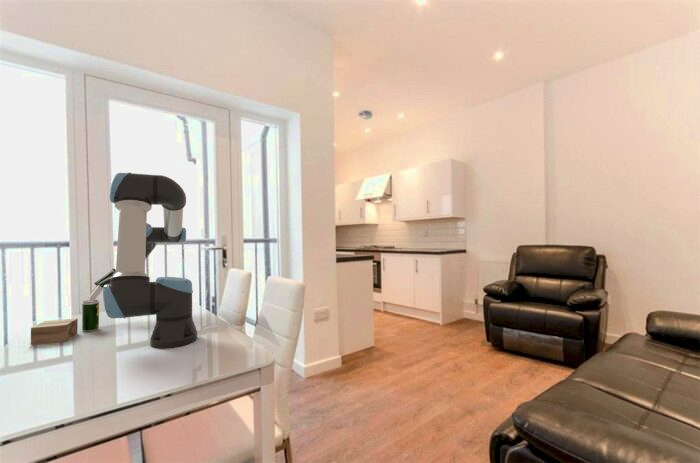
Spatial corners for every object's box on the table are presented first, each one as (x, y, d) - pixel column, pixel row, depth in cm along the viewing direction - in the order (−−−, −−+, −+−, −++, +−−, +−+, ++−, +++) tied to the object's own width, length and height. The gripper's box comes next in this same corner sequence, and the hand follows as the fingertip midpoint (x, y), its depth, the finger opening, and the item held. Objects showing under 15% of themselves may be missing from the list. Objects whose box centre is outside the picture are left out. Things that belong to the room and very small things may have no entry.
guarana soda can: (82, 333, 128) (82, 302, 128) (81, 330, 132) (81, 300, 132) (99, 330, 132) (99, 300, 132) (98, 327, 136) (98, 299, 136)
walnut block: (66, 341, 118) (66, 324, 118) (30, 344, 114) (30, 327, 114) (77, 333, 127) (77, 318, 127) (45, 336, 123) (45, 321, 123)
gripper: (160, 267, 155) (135, 305, 140) (115, 266, 159) (85, 303, 144) (152, 257, 150) (124, 295, 135) (105, 256, 153) (73, 294, 138)
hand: (104, 299), depth 139 cm, fingers open, 13 cm apart
